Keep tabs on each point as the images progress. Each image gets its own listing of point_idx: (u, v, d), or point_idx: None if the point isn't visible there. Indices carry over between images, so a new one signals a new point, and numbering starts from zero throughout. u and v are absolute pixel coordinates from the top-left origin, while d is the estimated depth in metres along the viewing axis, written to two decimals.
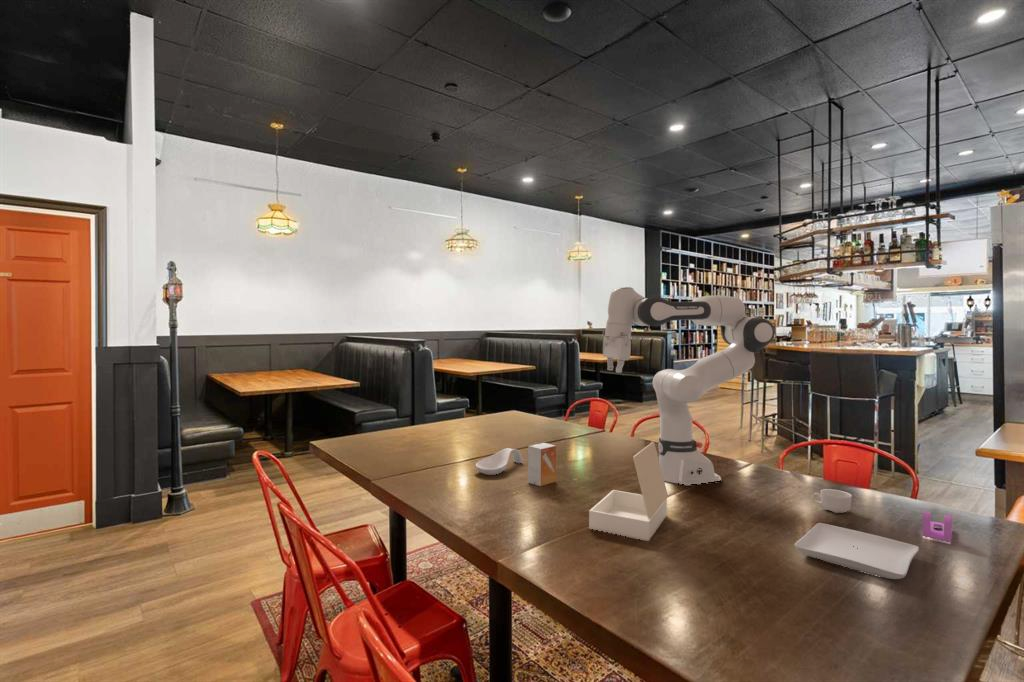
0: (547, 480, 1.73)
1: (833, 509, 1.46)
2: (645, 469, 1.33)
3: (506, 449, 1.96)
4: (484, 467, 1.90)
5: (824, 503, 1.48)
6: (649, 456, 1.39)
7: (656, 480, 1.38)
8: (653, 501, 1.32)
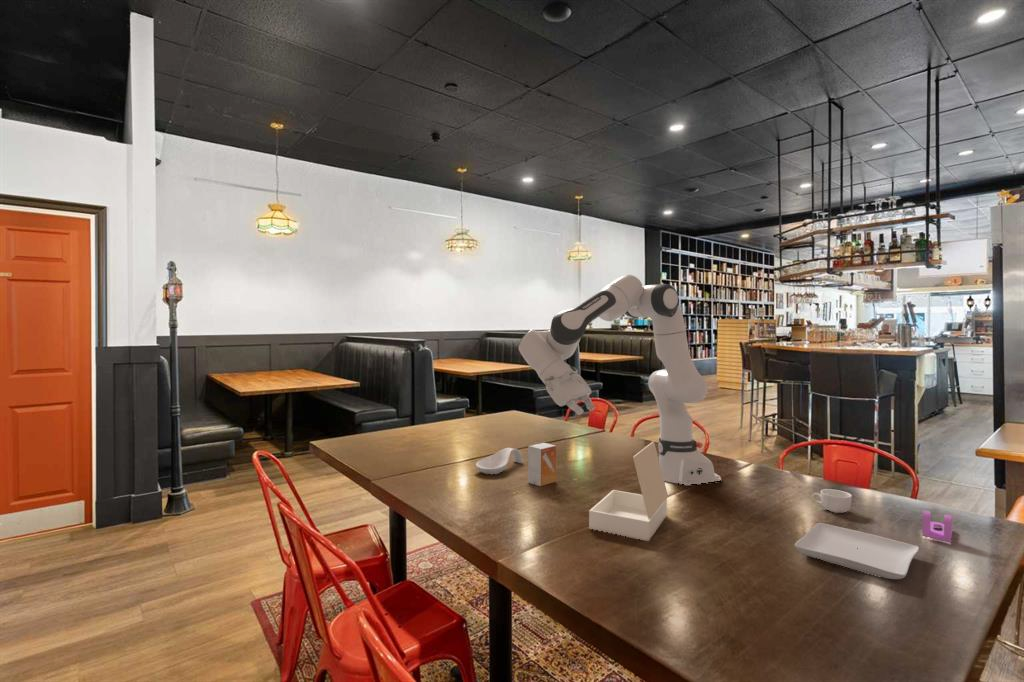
0: (547, 480, 1.73)
1: (833, 509, 1.46)
2: (645, 469, 1.33)
3: (506, 449, 1.97)
4: (484, 467, 1.90)
5: (824, 503, 1.48)
6: (649, 456, 1.39)
7: (656, 480, 1.38)
8: (653, 501, 1.32)
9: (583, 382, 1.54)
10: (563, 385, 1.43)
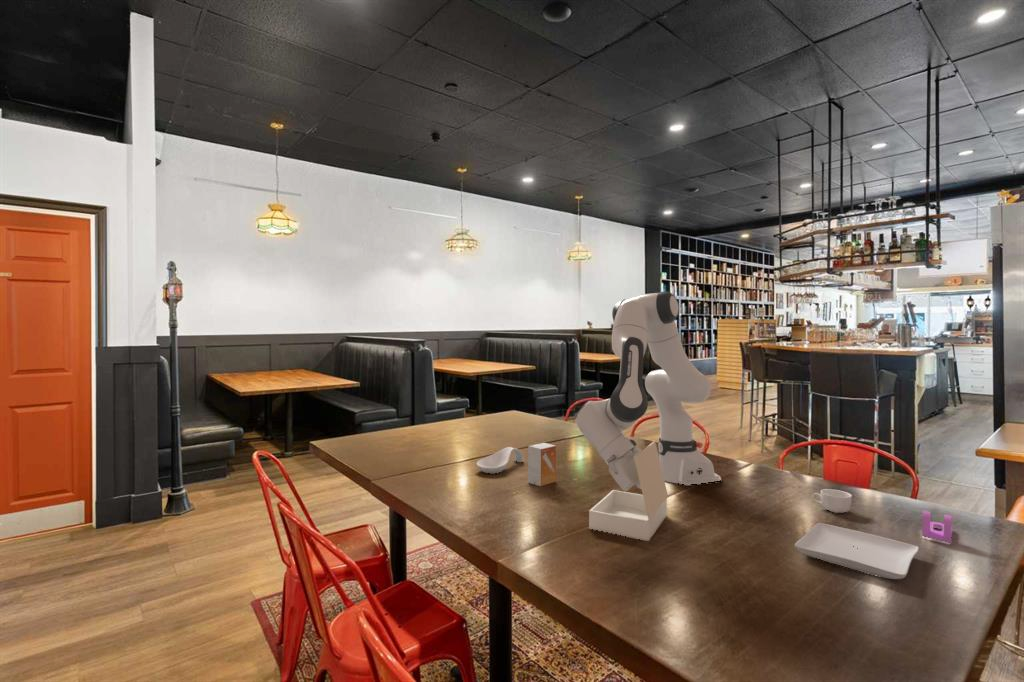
0: (547, 480, 1.73)
1: (833, 509, 1.46)
2: (646, 469, 1.33)
3: (507, 448, 1.98)
4: (485, 466, 1.91)
5: (824, 503, 1.48)
6: (650, 456, 1.38)
7: (656, 480, 1.38)
8: (653, 501, 1.32)
9: None
10: (627, 466, 1.34)
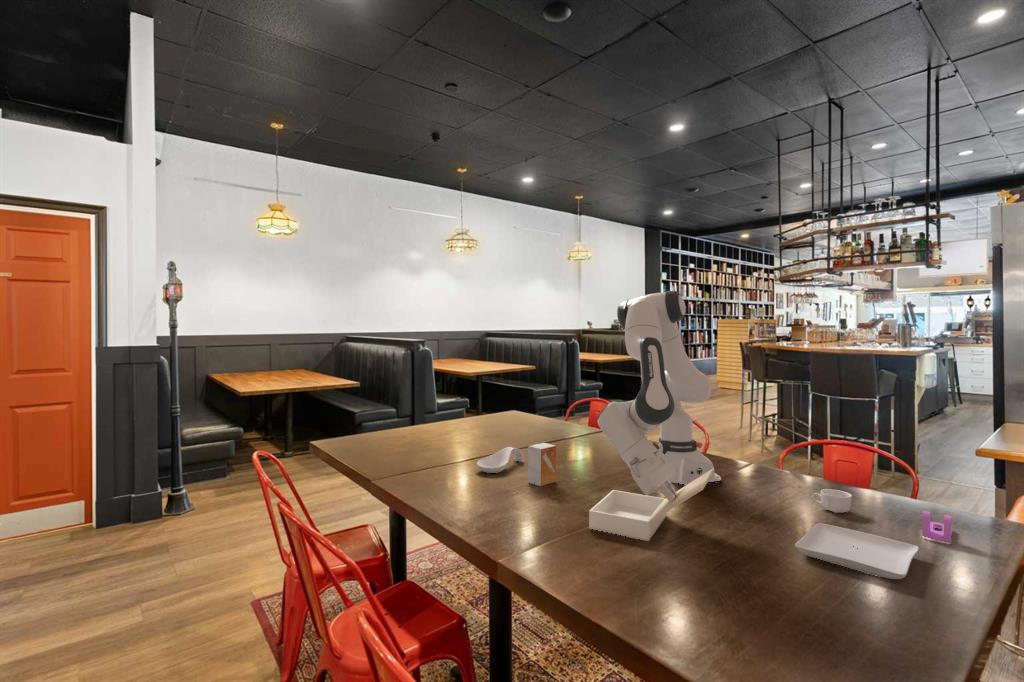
0: (547, 480, 1.73)
1: (833, 509, 1.46)
2: (691, 492, 1.27)
3: (507, 448, 1.98)
4: (485, 466, 1.92)
5: (824, 503, 1.48)
6: None
7: (681, 494, 1.35)
8: None
9: (666, 461, 1.42)
10: (649, 469, 1.31)
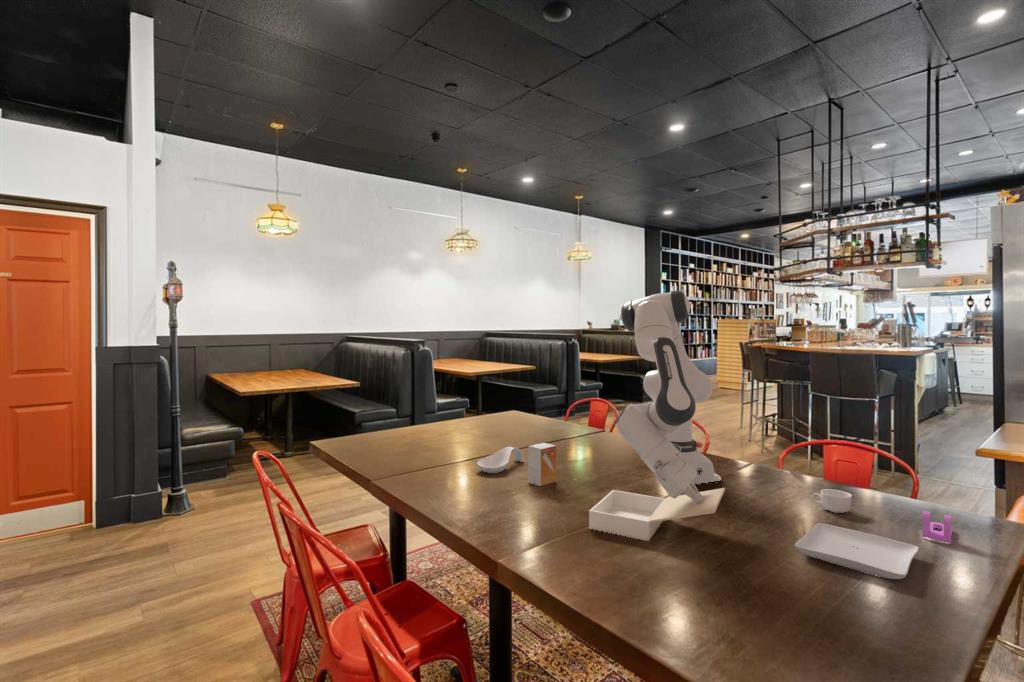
0: (547, 480, 1.73)
1: (833, 509, 1.46)
2: None
3: (507, 448, 1.98)
4: (486, 465, 1.92)
5: (824, 503, 1.48)
6: None
7: None
8: None
9: (687, 462, 1.39)
10: (674, 472, 1.28)
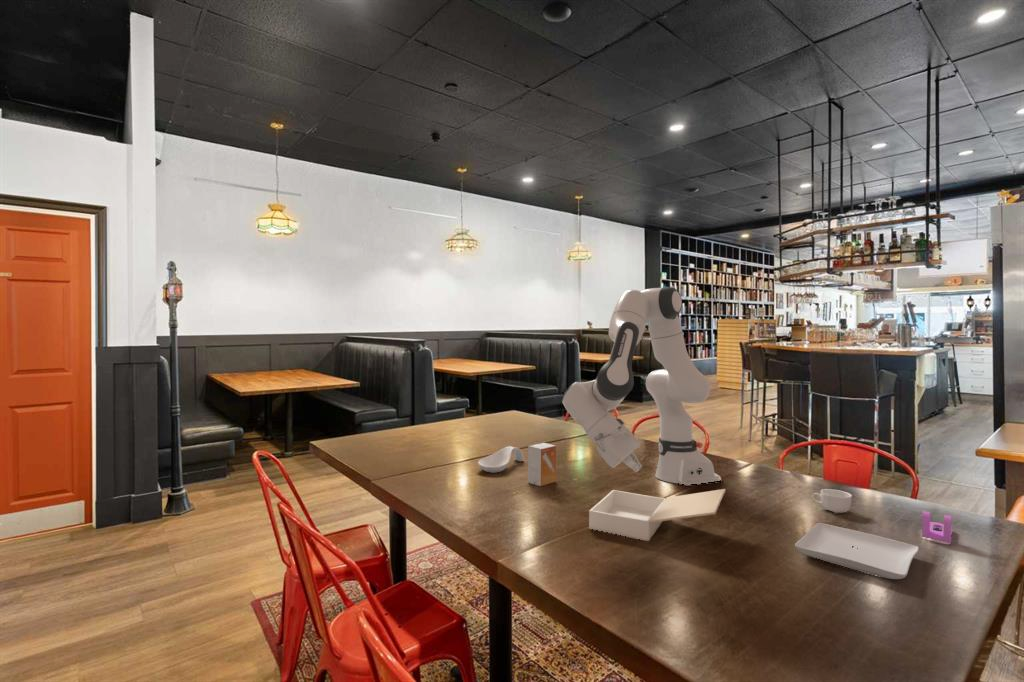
0: (547, 480, 1.73)
1: (833, 509, 1.46)
2: None
3: (508, 447, 1.99)
4: (486, 465, 1.93)
5: (824, 503, 1.48)
6: None
7: None
8: None
9: (631, 435, 1.47)
10: (614, 444, 1.36)
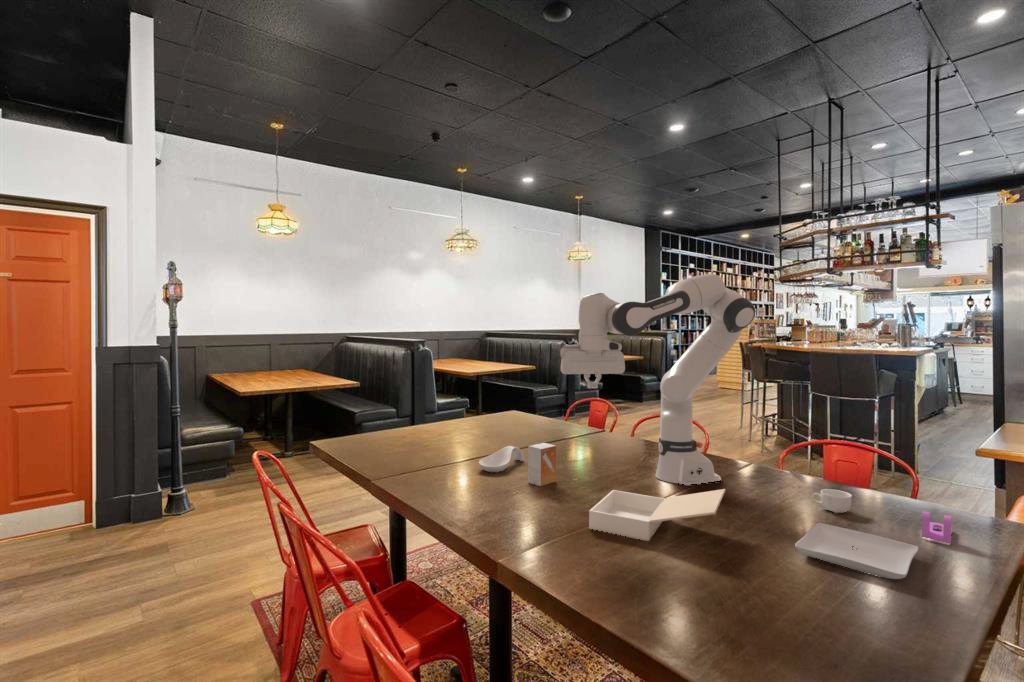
0: (547, 480, 1.73)
1: (833, 509, 1.46)
2: None
3: (508, 447, 2.00)
4: (487, 465, 1.93)
5: (824, 503, 1.48)
6: None
7: None
8: None
9: (620, 361, 1.57)
10: (578, 359, 1.56)
